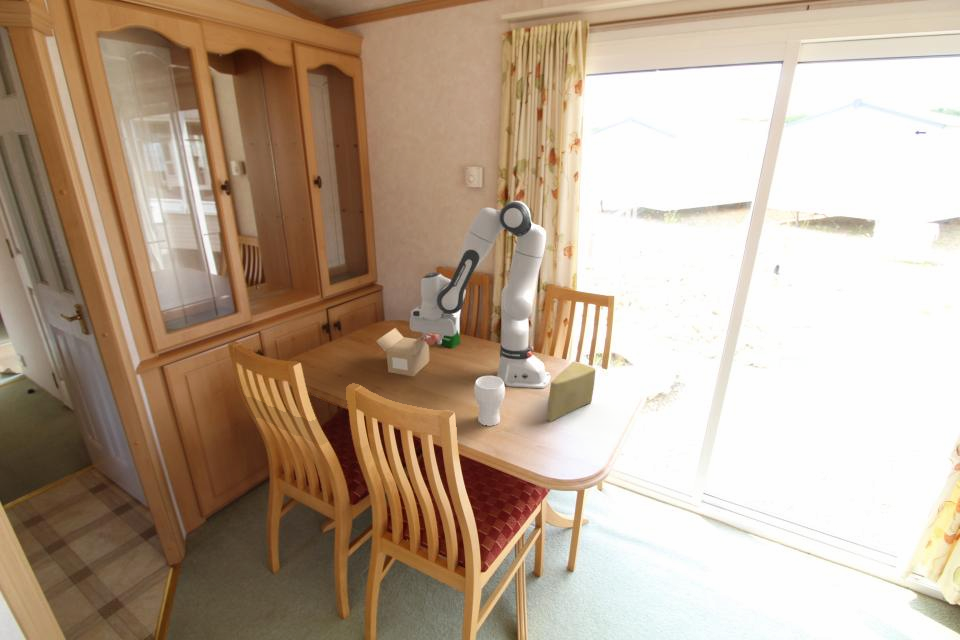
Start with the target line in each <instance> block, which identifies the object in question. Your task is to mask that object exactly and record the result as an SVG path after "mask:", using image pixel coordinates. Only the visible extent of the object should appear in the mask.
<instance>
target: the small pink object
mask: <svg viewBox="0 0 960 640" xmlns="http://www.w3.org/2000/svg"><path fill="white" fill-rule="evenodd" d="M427 335H428V337H430V338H429V339H425V338H424V336H423V334H422V335H420V336H419V337H418V338H416V339H417V340H416V341H414V348H413V355H415V354H416V353H417V352H419V351H420V350H421V349H422V348H423V347H424V346H425V345H427V344H428V345H429V347H430V346H433V345H434V344H435V343H437V340H438V339H440V337H439V335H438V334H431V333H427ZM425 341H426V342H425Z"/></svg>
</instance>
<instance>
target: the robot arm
mask: <svg viewBox="0 0 960 640" xmlns="http://www.w3.org/2000/svg"><path fill="white" fill-rule="evenodd" d="M531 217H532V214H531V209H530V207H529V206H528V205H527V204H526V203H525V202H522V201H520V200H512V201H509V202H507V203H506V204H504V206H503V207H502V208H501V209H499V210H497V209H495V208H493V207H484V208H481V209H480V211H479V212H478V213H477V215H476V216H475V217H474V220H473V221H472V223H471V224H470V226H469V229H468V231H467V232H466V235H465V237H464V241H463V245H462V250H461V253H460V259H459V262H458V265H457V267H456V268H455V269H456V270H455V272H454V273H453V276H452V278H451V279H450V278H448V277H446V276H444V275H443V274H441V273H440V272H431V273H428V274H425V275H424V276H423V277H422V279H421V284H420V296H421V300H422V301H421V306H417V307H416V308H414V309H413V310H412V309H411V311H410V317H409V328H410V330H411V332H417V333H422V335H423V336H424V338H425V339H429V338H430V337H428V335H427V333H431V334H432V335H433V334H438V335H439V337H440V338H439V339H438V340H437V341H436V344H437V345H441V343H442V338H443V337H444V335H445V336H454V335H455V334H456V332H457V328H456V317H455V316H454V315H453V314H454V313H457V312H458V311H459V310H462V308H463V305H464V301H465V300H464V299H465V298H466V295H467V290H466V288H467V286H468V283H469V282H470V281H471V277H473V274H474V272H475V270H476V269H477V267H479V265H480V264H481V263H482V262H483V261H484V259H485V258H486V257H487V255H488V254H489V252H490V251H491V249H492V248H493V247H494V244H495V242H496V240H497V238H498V237H499V234H500V233H501V232H502V231H504V230H506V231H507V232H510V233H511V234H512V235H514V236H516V239H517V240H516V245H515V247H514V252H513V255H512V260H511V264H510V268H509V277H508V280H507V282H508V283H507V284H506V285H505V286H503V288H502V291H501V295H500V304H501V308H500V309H501V310H500V313H501V315H500V316H501V342H500V343H501V344H500V347H499V357H500V360H499V366H498V369H497V373H496V377H499V378H501V379H502V380H503V382H504V386H505V387H516V388H531V389H545V388H546V387H547V386H548V385H549V384H550V383H551V379H552V378H551V373H550V372H548V371H546V367H545V364H544V362H543V361H542V360H541V359H539V358H538V357H537V356H536V355H534V354H533V353H534V346H531V345H529V336H530V335H529V334H530V324H529V317H530V316H531V315H532V312H533V310H534V309H533V308H534V307H533V306H534V300H535V296H536V291H537V283H538V282H537V281H538V277H539V272H540V269H541V264H542V263H543V257H544V253H545V249H546V243H547V231H546V229H544V227H542V226H541V225H539V224H535V223H534V222H533V221H532V218H531ZM443 312H445V313H443ZM447 313H448V314H447ZM453 316H454V317H453ZM425 342H426V341H425Z"/></svg>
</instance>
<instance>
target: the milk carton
mask: <svg viewBox="0 0 960 640" xmlns="http://www.w3.org/2000/svg"><path fill="white" fill-rule="evenodd" d="M461 311H462V309H460V310H459V311H458V312H457V313H454V314H453V315H454V316H455V317H456V328H457V332H456V334H455V335H454V336H445V335H444V337H443V338H442V343H441V344H440V346H443V347H446V348H449V349H450V348H451V349H454V348H456V347H457V346H459V345H461V336H460V333H461V331H460V329H461V327H460V317H461ZM443 313H445V312H443ZM447 314H448V313H447ZM454 316H453V317H454Z"/></svg>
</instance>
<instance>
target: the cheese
mask: <svg viewBox="0 0 960 640" xmlns="http://www.w3.org/2000/svg"><path fill="white" fill-rule="evenodd" d="M595 379H596V368H594V367H592V366H590V365H587V364H584V363H581V362H578V361H572V362H571V363H570V364H569V365H568V366H567V367H565V368H564V369H563V370H562V371H561V372H560V373H559V374H558V375H557V376H555V378H553V380H552V381H550V387H549V393H548V394H549V395H548V399H547V400H548V401H547V410H546V411H547V416H546V420H547V421H548V422H549V423H550V422H553V420H554V421H556V420H557V418H558V419H559V417H560V418H561V417H563V416H565V415H567V414H569V413H571V412H573V411H575V410H577V409H579V408H581V407H584V406H586V405H589V404H590V403H592V401H593V394H594V388H595ZM555 419H556V420H555Z"/></svg>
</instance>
